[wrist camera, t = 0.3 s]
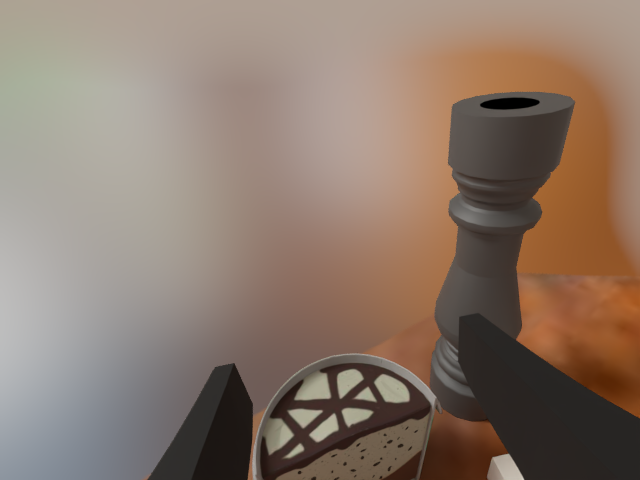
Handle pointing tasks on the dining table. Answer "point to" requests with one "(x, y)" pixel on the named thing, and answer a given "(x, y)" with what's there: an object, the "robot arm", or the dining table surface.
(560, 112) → the candle holder
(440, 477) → the dining table surface
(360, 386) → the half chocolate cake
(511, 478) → the base
